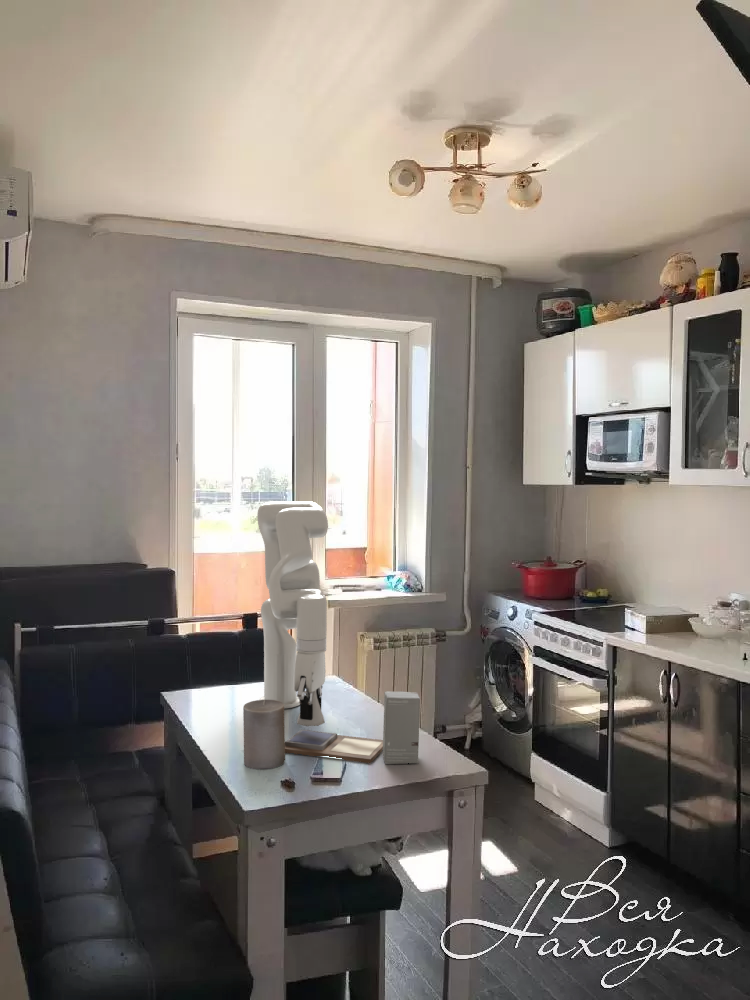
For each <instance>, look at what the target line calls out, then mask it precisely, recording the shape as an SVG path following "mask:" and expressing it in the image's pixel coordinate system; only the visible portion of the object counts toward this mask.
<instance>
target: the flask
mask: <svg viewBox="0 0 750 1000" xmlns="http://www.w3.org/2000/svg"><path fill="white" fill-rule="evenodd" d="M308 690H309V689H305V691H308ZM308 695H309V694H305V696H307V697H308ZM311 704H313V719H312V720H305V719H300V713H299V714H298V716H297V719H296V722H297V723H296V724H297V725H299V726H303V727H320V726H321V725H324V724H325V722H326V721H325V718H324V714H323V712H322V707H321V708H320V705H319V702H318V699H317V694H316V690H315V691H314V692H312V701H311Z"/></svg>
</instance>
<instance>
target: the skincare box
mask: <svg viewBox="0 0 750 1000" xmlns="http://www.w3.org/2000/svg"><path fill="white" fill-rule="evenodd" d="M383 694H384V695H383V696H384V697H383V699H384V700H383V701H384V703H383V704H384V705H383V731H382V732H383V733H382V740H383V751H382V757H383V761H384V763H385V765H401V764H404V765H405V764H407V765H409V764H419V749H420V748H419V745H420V744H419V742H420V715H421V714H420V713H421V712H420V708H421V698H420V695H419V693H418V692H413V691H411V692H410V691H384V692H383ZM408 763H409V764H408Z"/></svg>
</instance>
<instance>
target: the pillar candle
mask: <svg viewBox="0 0 750 1000" xmlns="http://www.w3.org/2000/svg"><path fill="white" fill-rule="evenodd" d="M242 713H243V714H242V715H243V717H242V718H243V763H244V765H246V766H245V767H246V768H249V767H250V768H249V769H253V770H268V769H275V768H278V767H280V765H281V766H282V765H284V763H285V761H286V753H285V741H286V739H285V738H286V737H285V733H286V731H285V709H284V704H283V703H282V702H280V701H276V700H259V699H257V700H251V701H249V702H247V703H245V704H243V711H242Z"/></svg>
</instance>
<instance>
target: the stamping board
mask: <svg viewBox="0 0 750 1000" xmlns="http://www.w3.org/2000/svg"><path fill="white" fill-rule="evenodd" d="M382 750H383V739H377V738H369V737H360V736H352V735H343V734H338V733H335V732H334V733H333V732H326V731H316V730H308V729H307V730H306V729H300V730H299V731H297V732H295V734H293V735H292V736H291V737H289V738H288V739H286V740H285V754H290V753H294V754H293V755H298V754H302V755H301V756H306V755H309V756H308V757H314V756H329V757H336V758H342V759H344V760H343V761H347V762H354V763H355V762H356V763H364V764H372V762H374V761H375V759H376V758H377V757H378V756H379V755H380V754H381V753H383V751H382Z"/></svg>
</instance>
